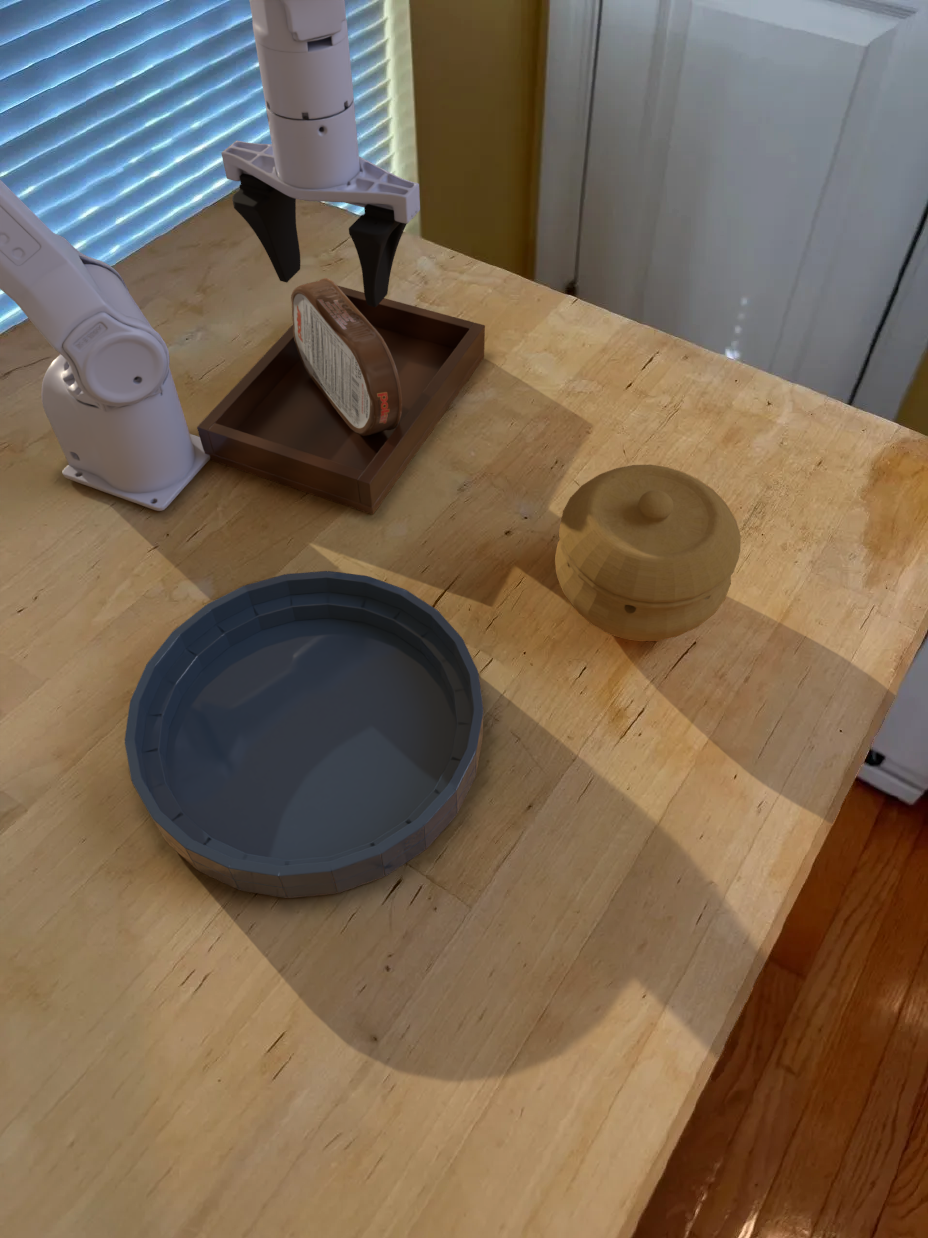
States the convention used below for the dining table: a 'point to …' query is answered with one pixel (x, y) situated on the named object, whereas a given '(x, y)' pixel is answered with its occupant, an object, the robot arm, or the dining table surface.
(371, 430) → the tin
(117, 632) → the dining table surface
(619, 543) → the pot
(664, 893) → the dining table surface
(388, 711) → the bowl
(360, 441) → the holder
